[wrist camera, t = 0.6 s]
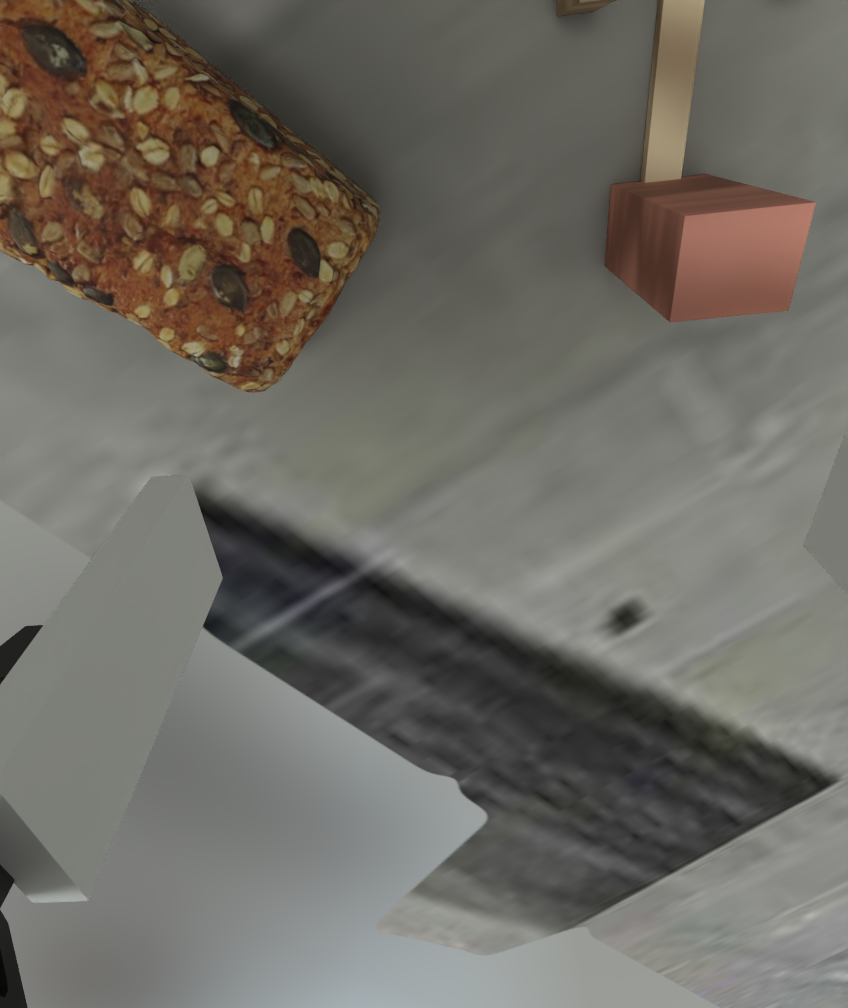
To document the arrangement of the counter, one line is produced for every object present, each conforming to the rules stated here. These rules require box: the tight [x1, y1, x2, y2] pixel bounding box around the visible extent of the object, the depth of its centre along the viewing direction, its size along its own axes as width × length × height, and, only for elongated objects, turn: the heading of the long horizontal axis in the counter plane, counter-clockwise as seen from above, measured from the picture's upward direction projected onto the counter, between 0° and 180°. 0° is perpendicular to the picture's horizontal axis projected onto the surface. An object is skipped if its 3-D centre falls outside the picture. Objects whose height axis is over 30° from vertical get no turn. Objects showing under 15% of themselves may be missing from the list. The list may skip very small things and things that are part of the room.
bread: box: [0, 0, 381, 392], centre depth 26 cm, size 19×11×10 cm, turn 52°
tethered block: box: [605, 0, 816, 322], centre depth 22 cm, size 21×6×10 cm, turn 5°
